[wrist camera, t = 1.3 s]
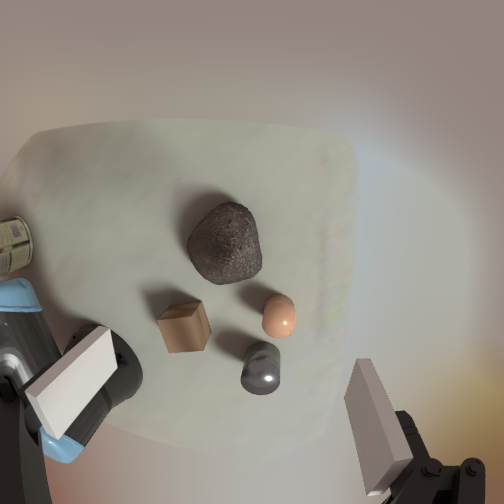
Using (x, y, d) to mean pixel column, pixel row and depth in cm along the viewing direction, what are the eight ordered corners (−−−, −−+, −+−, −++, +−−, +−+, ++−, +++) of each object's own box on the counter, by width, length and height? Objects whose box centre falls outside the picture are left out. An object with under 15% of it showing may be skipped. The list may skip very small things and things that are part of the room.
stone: (230, 276, 40) (280, 288, 33) (177, 280, 35) (220, 297, 27) (233, 207, 40) (284, 204, 32) (179, 202, 34) (224, 196, 26)
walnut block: (180, 335, 39) (168, 353, 34) (170, 305, 38) (156, 320, 33) (211, 332, 39) (203, 350, 34) (202, 300, 38) (191, 316, 33)
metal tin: (244, 366, 39) (238, 391, 33) (248, 339, 38) (242, 363, 32) (277, 371, 39) (276, 397, 33) (283, 344, 38) (283, 369, 32)
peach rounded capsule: (262, 319, 37) (259, 335, 33) (266, 292, 36) (264, 306, 32) (291, 323, 37) (292, 340, 33) (296, 297, 36) (298, 311, 32)
